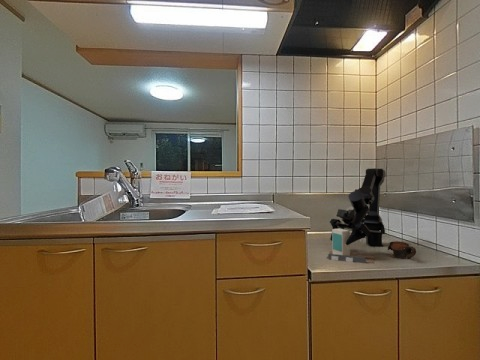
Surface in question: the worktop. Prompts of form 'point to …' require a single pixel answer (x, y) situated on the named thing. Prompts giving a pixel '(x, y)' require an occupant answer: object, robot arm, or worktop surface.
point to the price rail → (347, 258)
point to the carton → (340, 242)
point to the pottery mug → (401, 250)
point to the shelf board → (368, 257)
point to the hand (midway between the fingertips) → (338, 242)
